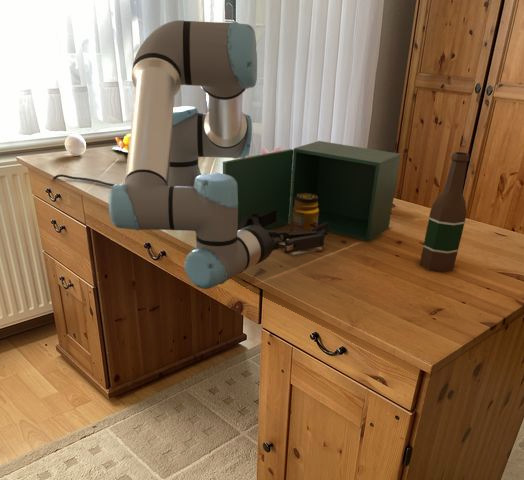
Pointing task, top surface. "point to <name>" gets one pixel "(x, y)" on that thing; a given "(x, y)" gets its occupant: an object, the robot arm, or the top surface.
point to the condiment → (305, 215)
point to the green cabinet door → (263, 184)
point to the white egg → (75, 145)
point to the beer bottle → (446, 220)
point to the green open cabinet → (347, 186)
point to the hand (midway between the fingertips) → (300, 221)
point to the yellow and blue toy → (123, 143)
